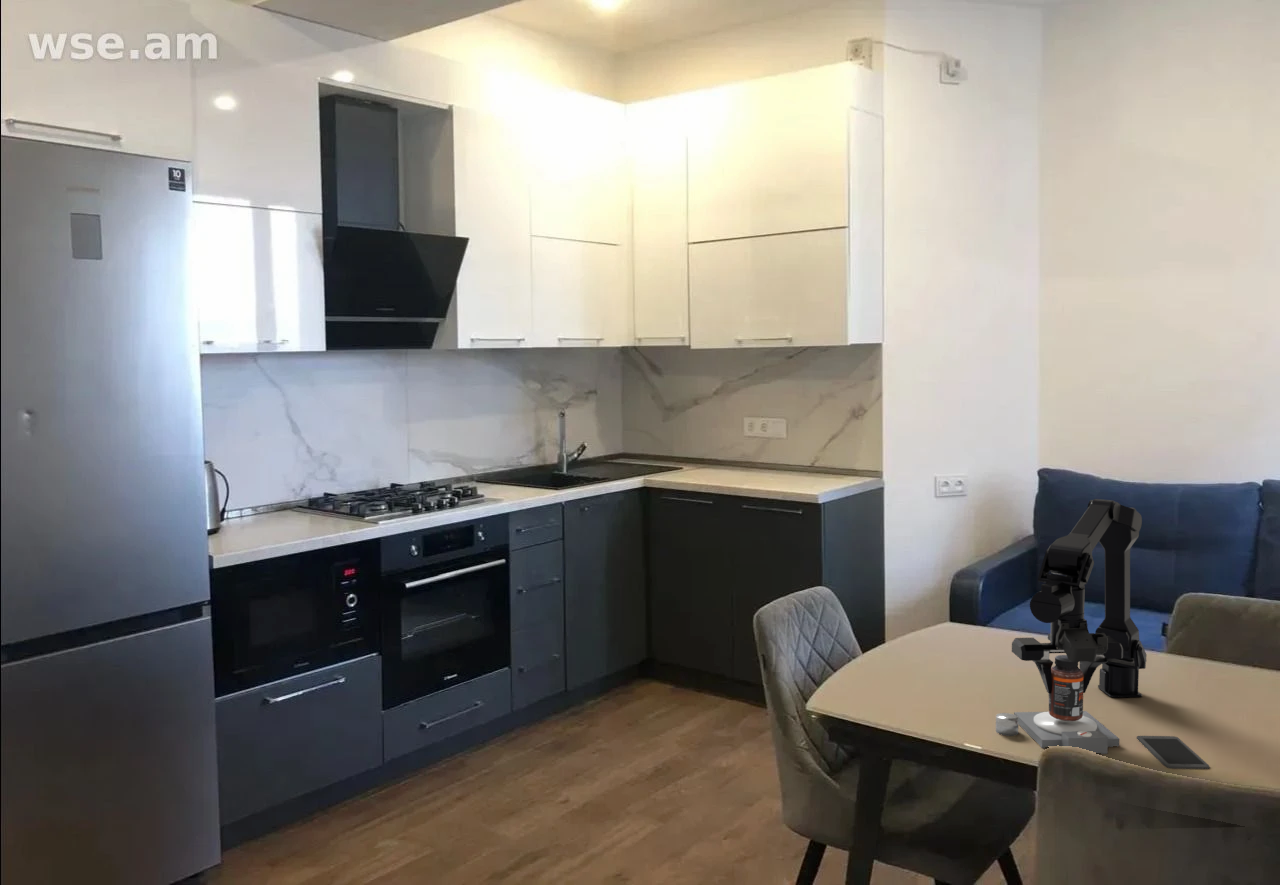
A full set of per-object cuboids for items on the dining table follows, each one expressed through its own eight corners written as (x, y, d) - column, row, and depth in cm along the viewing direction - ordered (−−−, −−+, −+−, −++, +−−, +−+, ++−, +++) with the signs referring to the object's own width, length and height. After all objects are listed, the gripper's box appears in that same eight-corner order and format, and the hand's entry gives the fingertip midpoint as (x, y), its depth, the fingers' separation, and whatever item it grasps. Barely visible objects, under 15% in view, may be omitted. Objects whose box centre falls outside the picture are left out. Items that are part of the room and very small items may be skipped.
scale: (1086, 718, 200) (1086, 701, 200) (1127, 753, 183) (1127, 735, 183) (1014, 719, 200) (1014, 703, 200) (1048, 754, 183) (1048, 736, 183)
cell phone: (1176, 739, 190) (1176, 735, 189) (1211, 771, 176) (1211, 767, 176) (1135, 739, 190) (1135, 735, 190) (1167, 770, 176) (1167, 766, 176)
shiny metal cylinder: (1013, 728, 196) (1014, 712, 196) (1021, 736, 192) (1021, 720, 192) (992, 728, 196) (993, 713, 196) (999, 736, 192) (1000, 720, 192)
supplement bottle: (1086, 723, 189) (1087, 663, 188) (1051, 721, 190) (1052, 662, 189) (1079, 711, 195) (1079, 653, 194) (1045, 710, 196) (1046, 652, 195)
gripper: (1033, 624, 183) (1032, 709, 184) (1138, 622, 183) (1136, 707, 184) (1011, 608, 194) (1010, 688, 195) (1110, 605, 194) (1108, 686, 195)
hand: (1065, 692), depth 192 cm, fingers closed on supplement bottle, 6 cm apart
